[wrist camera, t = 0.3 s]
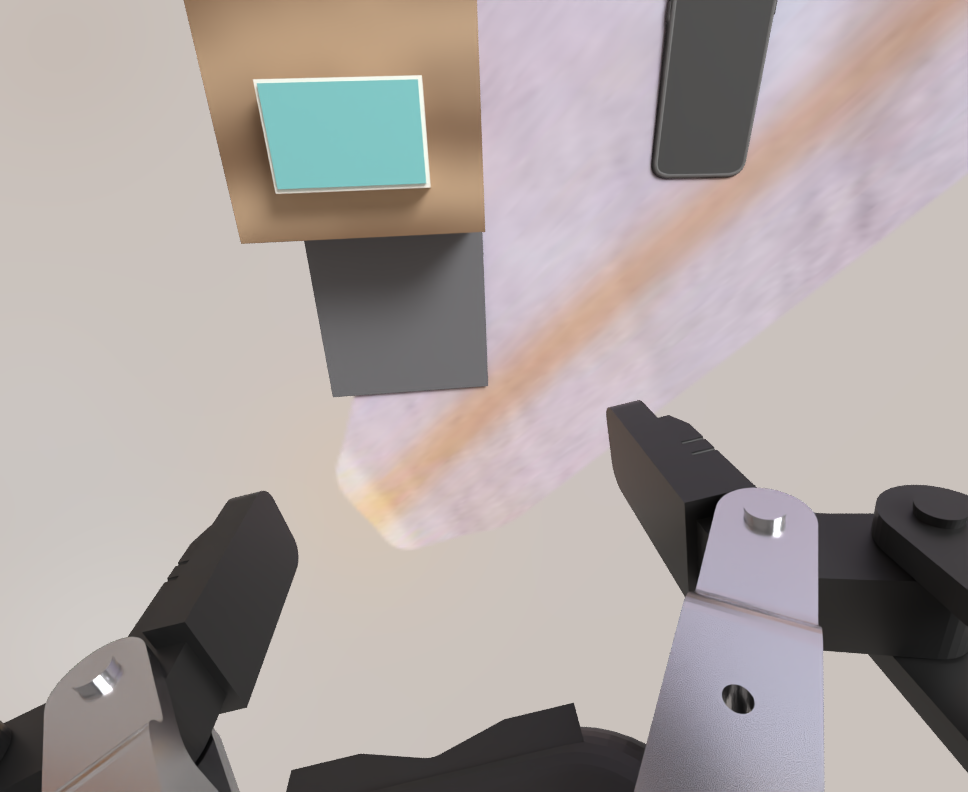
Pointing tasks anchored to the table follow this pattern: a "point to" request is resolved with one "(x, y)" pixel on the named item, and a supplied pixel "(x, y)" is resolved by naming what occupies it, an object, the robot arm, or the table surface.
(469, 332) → the rubber mat
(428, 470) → the table surface
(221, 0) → the brown wooden block
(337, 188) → the card box
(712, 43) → the smartphone
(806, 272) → the table surface
